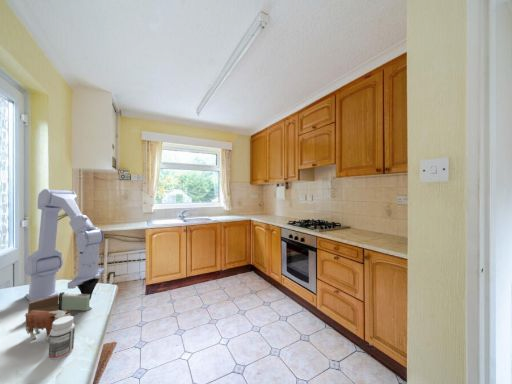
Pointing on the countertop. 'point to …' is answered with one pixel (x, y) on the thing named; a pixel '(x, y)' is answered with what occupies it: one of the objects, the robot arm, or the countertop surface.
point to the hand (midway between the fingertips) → (86, 300)
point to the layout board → (73, 312)
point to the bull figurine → (42, 321)
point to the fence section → (47, 303)
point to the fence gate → (75, 301)
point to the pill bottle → (61, 337)
